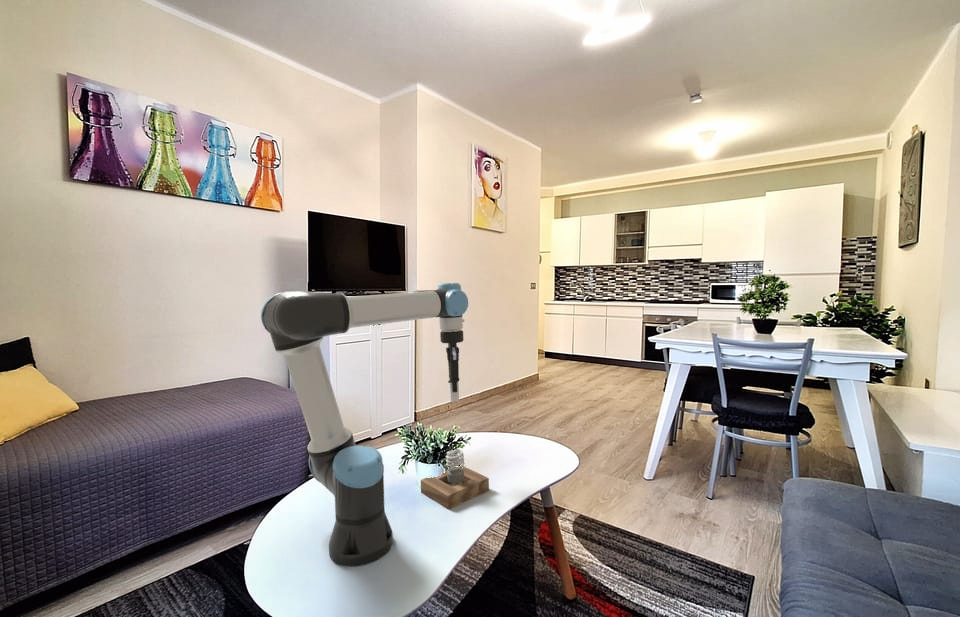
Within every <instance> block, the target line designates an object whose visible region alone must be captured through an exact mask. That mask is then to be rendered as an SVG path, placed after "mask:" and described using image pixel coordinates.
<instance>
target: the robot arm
mask: <svg viewBox="0 0 960 617" xmlns="http://www.w3.org/2000/svg"><path fill="white" fill-rule="evenodd" d="M468 308H469V298H468V295H467V294H466V292H464V291H463V290H462V286H461V284H460V283H458V282H449V283H448V282H447V283H443V282H442V283H439V284H438V285H437V289H430V290H429V289H423V290H419V289H418V290H410V291H408V292H399V293H386V294H385V293H383V294H370V295H356V296H354V295H353V296H347V295H346V294H344V293H342V292H337V293H326V292H325V293H323V292H321V293H320V292H314V291H304V290H299V291H292V290H287V291H281V292H278V293H276V294H274V295H272V296H270V298H268V299H267V300H266V302H265V303H264V305H263V307H262V308H261V311H260V312H261V313H260V319H261V322H262V325H263V327H264V329H265V331H267V332H268V333H269V335H270V338H271V341H272V345H273V346H274V350H275V352H277V353H279V354H281V355H283V356H284V359H285V362H286V365H287V368H288V371H289V375H290V377H291V380H292V383H293V387H294V389H295V390H294V391H295V393H296V397H297V400H298V403H299V405H300V406H299V407H300V410H301V412H302V416H303V419H304V422H305V424H306V428H307V431H308V433H309V436H310V441H309V443H308V444H307V446H306V447H307V448H306V449H307V452H308V455H309V456H308V467H309V471H310V473H311V475H312V477H314V479H315V480H316V481H317V482H319V483H320V484H321V485H322V486H324V487H325V489H326V490H328V491H329V492H330V493H331V494H332V495H333V496H334V509H335V510H334V512H335V522H334V525H333V528H332V532H331V536H330V540H329V544H328V552H329V553H328V554H329V557H330V559H331V560H332V561H333V562H334V563H336V564H337V565H340V566H345V567H359V566H364V565H369V564H371V563H373V562H376V561H377V560H379V559H381V558H383V557H384V556H385V555H387V553H389V552H390V550H391V548H392V547H393V544H394V538H393V537H394V535H393V529H392V527H391V524H390V522H389V519H388V517H387V515H386V514H387V513H386V511H385V484H384V483H385V482H384V481H385V480H384V476H385V475H384V474H385V468H384V467H385V466H384V463H383V462H384V461H383V457H382V454H381V452H380V451H378V449H376V448H374V447H372V446H369V445H368V446H365V445H356V442H355V438H354V435H353V431H352V430H351V429H350V428H347V427H345V426H344V423H343V419H342V415H341V412H340V408H339V406H338V402H337V399H336V396H335V392H334V390H333V385H332V383H331V379H330V375H329V373H328V370H327V364H326V362H325V360H324V356H323V353H322V352H323V351H322V349H321V347H320V345H321V343H322V341H323V339H324V337H327V336H328V337H329V336H334V335H340V334H346V333H348V332H349V330H350V329H352V328H353V329H354V328H360V327H368V326H369V327H370V326H377V325H384V324H392V323H400V322H407V321H415V320H424V319H430V318H431V319H432V318H439V330H441V331H440V333H439V334H440V336H439V337H440V342H441V343H442V344H447V347H446V348H445V351H446V358H447V359H446V360H447V364H448V378H449V380H447V382H448V384H449V393H450V394H449V395H450V402H451V403H455V402H460V393H459V392H460V390H459V386H460V385H459V382H460V377H459V376H460V374H459V372H460V371H459V369H460V368H459V365H460V364H459V361H460V357H459V356H460V355H459V354H460V348H459V347H458V346H457V345H458V343H462V342H464V340H465V338H464V331H463V330H462V329H463V327H464V325H463V324H464V323H465V319H463V315H464V314H465V313H466V312H467V311H468Z"/></svg>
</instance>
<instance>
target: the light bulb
mask: <svg viewBox="0 0 960 617" xmlns="http://www.w3.org/2000/svg"><path fill="white" fill-rule="evenodd" d="M445 458H446V460H445V462H446V464H445V465H446V466H447V467H448V468H447V470H448V471H447V479H448V482H450V483H452V486H453V487H454V486H456V485H459V484H460V483H461V482H462V481H463V480H464V470H463V469H462V467H463V466H465V455H464V452H463V451H462V450H461V449H458V448H457V449H456V448H455V449H454V450H449V451H446V457H445ZM459 465H460V466H459ZM456 466H458V467H456ZM453 467H454V468H453Z"/></svg>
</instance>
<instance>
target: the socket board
mask: <svg viewBox="0 0 960 617" xmlns="http://www.w3.org/2000/svg"><path fill="white" fill-rule="evenodd" d="M463 470H464V480H463V481H462V482H461V483H460V484H459V485H456V486H454V487H453V486H452V483H450V482H448V479H447V471H446V472H445V473H443V474H442V475H441V476H438V477H433V478H432V477H431V478H427V477H424V478H422V479H420V493H421V494H422V495H424V496H426V497H427V498H429V499H431V500H432V501H434V503H435V502H436V503H437V504H439V505H440V506H442V507H443V508H445V509H447V510H450V509H452V508H454V507H455V508H456V506H459V505H460V504H463V503H465V502H467V501H469V500H471V499H474V498H476V497H479V496H480V495H483V494H485V493H487V492H490V478H489V477H487V476H486V475H483V474H480V473H478V472H477V471H474V470H473V469H470V468H468V467H466V466H465V465H463Z"/></svg>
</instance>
